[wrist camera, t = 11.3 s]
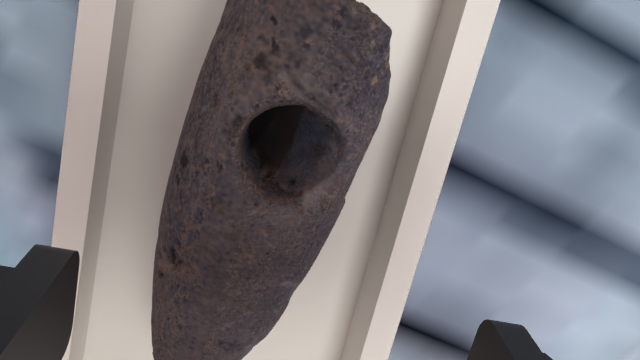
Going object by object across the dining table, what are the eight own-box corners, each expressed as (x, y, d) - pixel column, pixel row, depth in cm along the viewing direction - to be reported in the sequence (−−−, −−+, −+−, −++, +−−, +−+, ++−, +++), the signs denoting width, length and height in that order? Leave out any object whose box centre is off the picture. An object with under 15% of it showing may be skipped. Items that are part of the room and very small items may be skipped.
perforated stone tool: (248, 352, 24) (242, 491, 18) (119, 314, 23) (62, 446, 17) (404, -10, 20) (470, -3, 14) (257, -76, 19) (252, -102, 13)
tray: (497, -115, 20) (542, -132, 17) (340, 416, 27) (350, 477, 24) (137, -219, 19) (109, -262, 15) (60, 376, 25) (29, 437, 22)
